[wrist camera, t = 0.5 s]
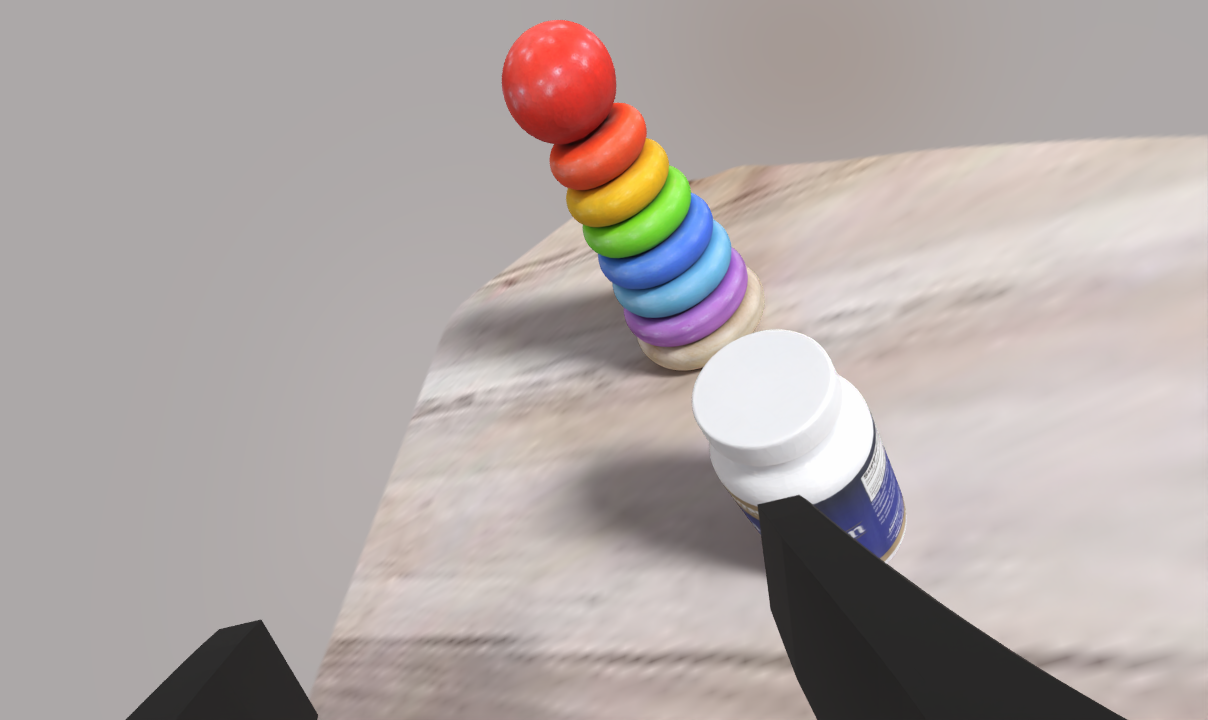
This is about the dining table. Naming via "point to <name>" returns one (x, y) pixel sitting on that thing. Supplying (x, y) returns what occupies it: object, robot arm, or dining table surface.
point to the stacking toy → (631, 200)
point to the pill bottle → (797, 436)
